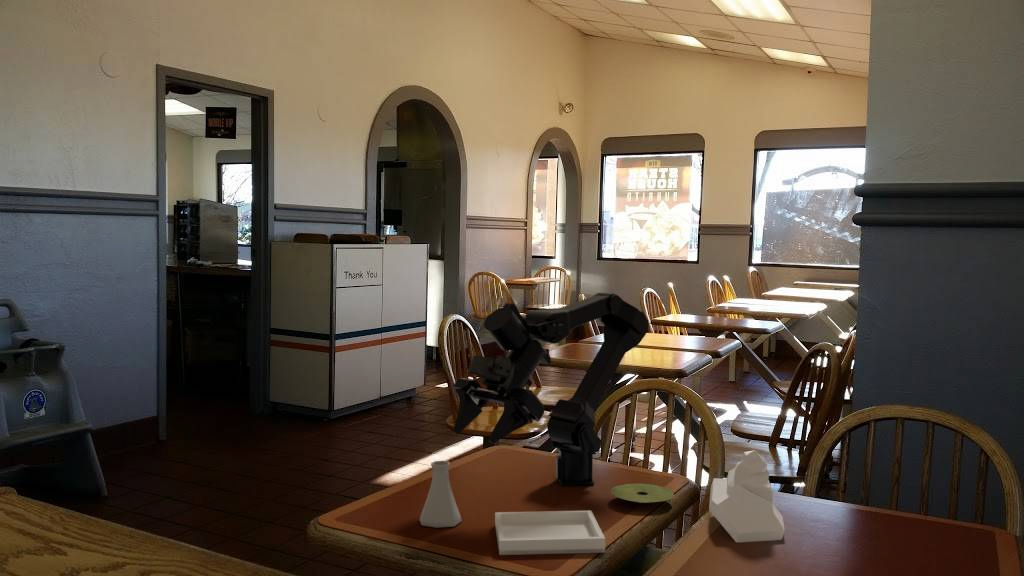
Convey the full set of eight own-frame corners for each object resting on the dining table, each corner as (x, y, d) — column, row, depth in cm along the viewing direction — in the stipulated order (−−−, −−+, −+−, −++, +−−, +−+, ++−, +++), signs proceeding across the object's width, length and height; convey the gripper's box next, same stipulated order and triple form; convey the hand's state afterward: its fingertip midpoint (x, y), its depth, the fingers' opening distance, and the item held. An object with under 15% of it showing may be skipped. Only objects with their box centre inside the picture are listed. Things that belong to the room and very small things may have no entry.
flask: (465, 515, 143) (465, 458, 142) (458, 530, 136) (458, 469, 135) (423, 513, 144) (423, 456, 143) (414, 528, 136) (414, 468, 136)
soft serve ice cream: (778, 525, 143) (803, 450, 140) (776, 564, 129) (803, 482, 126) (707, 500, 147) (729, 426, 143) (696, 535, 132) (721, 454, 129)
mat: (600, 496, 154) (600, 485, 154) (654, 490, 157) (655, 480, 157) (627, 515, 143) (627, 504, 143) (685, 509, 147) (685, 498, 146)
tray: (590, 523, 139) (591, 510, 139) (605, 552, 126) (605, 538, 126) (495, 525, 138) (495, 512, 138) (499, 555, 125) (499, 540, 125)
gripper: (460, 333, 153) (412, 401, 146) (533, 343, 140) (484, 417, 133) (492, 371, 159) (447, 438, 152) (564, 384, 146) (519, 457, 139)
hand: (472, 437), depth 144 cm, fingers open, 9 cm apart
